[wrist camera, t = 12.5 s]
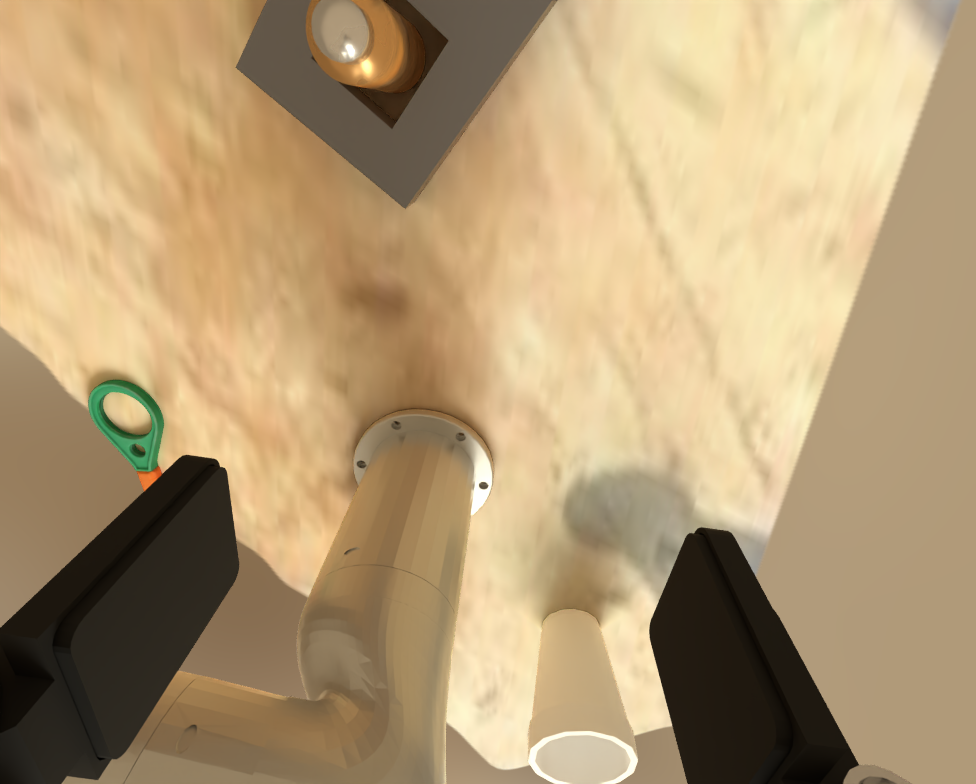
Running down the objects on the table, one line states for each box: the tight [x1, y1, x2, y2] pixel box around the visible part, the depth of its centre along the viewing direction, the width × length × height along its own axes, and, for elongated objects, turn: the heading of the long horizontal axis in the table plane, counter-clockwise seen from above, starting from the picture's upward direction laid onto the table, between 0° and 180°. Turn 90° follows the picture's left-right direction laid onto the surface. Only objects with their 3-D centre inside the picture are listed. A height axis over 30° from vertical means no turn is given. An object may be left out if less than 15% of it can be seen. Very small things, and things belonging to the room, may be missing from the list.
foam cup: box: [528, 609, 638, 784], centre depth 49 cm, size 10×9×13 cm
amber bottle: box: [306, 0, 425, 93], centre depth 26 cm, size 4×4×10 cm
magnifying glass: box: [88, 380, 164, 491], centre depth 47 cm, size 15×6×2 cm, turn 179°
